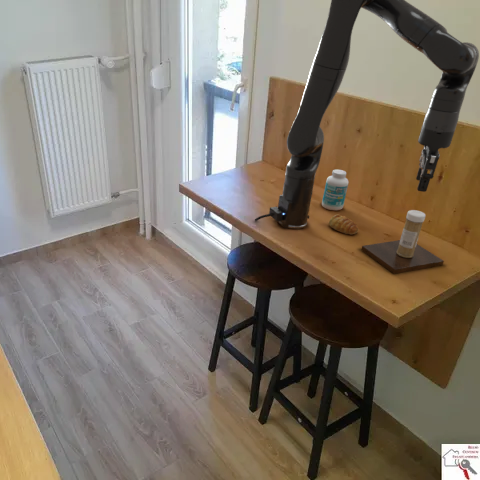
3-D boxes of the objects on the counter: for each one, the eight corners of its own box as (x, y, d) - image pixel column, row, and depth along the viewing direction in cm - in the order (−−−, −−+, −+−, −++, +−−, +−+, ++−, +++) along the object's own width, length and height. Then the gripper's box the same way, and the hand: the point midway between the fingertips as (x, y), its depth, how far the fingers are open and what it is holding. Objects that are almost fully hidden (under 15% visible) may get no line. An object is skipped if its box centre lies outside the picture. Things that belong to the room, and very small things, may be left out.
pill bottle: (320, 209, 169) (327, 173, 163) (322, 201, 175) (329, 166, 169) (342, 212, 167) (350, 176, 160) (343, 204, 173) (351, 169, 166)
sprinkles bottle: (416, 255, 137) (429, 213, 131) (407, 260, 135) (420, 217, 129) (401, 249, 140) (413, 208, 134) (392, 253, 138) (404, 211, 132)
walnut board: (393, 273, 131) (394, 269, 130) (361, 250, 143) (362, 245, 142) (442, 265, 136) (444, 260, 135) (407, 242, 147) (408, 238, 147)
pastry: (362, 232, 153) (365, 222, 151) (348, 237, 150) (350, 227, 148) (339, 221, 160) (341, 211, 158) (325, 226, 157) (327, 216, 155)
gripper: (421, 118, 128) (405, 174, 136) (423, 131, 117) (406, 192, 125) (452, 122, 126) (434, 179, 134) (458, 135, 114) (437, 197, 122)
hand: (420, 185), depth 129 cm, fingers open, 8 cm apart
